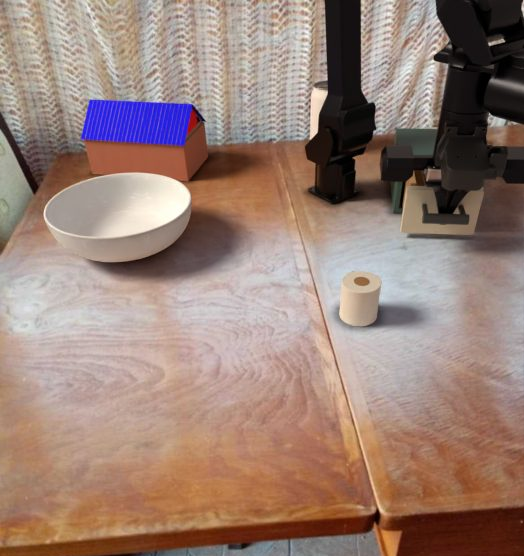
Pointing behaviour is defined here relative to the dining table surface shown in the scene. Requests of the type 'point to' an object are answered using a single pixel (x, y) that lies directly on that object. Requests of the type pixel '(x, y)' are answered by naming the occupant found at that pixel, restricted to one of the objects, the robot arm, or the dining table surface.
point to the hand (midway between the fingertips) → (442, 223)
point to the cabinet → (421, 145)
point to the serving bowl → (119, 216)
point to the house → (144, 138)
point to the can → (317, 105)
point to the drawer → (424, 213)
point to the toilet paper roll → (359, 298)
